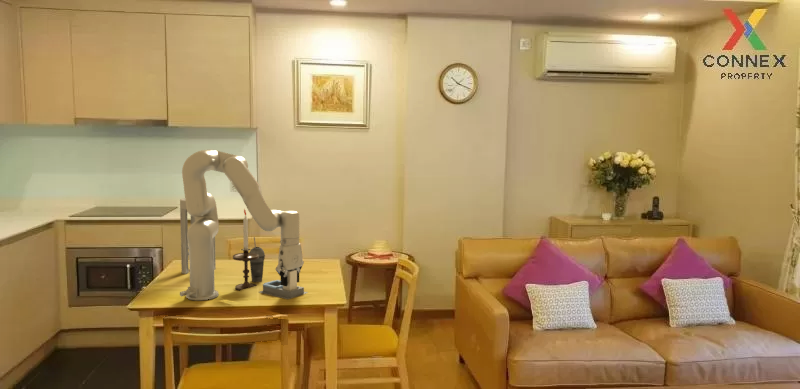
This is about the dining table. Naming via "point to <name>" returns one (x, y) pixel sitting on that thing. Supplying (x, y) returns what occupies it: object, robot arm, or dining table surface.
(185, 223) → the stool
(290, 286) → the white bottle
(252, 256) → the candlestick
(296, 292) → the blue-grey compartment tray
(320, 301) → the dining table surface
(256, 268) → the beverage cup
